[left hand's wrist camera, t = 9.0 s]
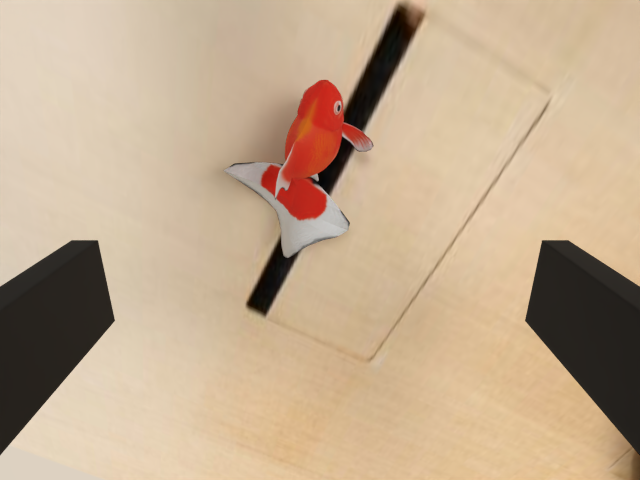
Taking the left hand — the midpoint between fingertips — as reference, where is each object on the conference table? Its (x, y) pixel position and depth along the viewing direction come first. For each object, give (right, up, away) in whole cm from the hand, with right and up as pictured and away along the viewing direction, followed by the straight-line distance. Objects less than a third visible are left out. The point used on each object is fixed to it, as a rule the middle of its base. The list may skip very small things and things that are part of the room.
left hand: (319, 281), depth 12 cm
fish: (-1, +8, +26) cm, 27 cm away
